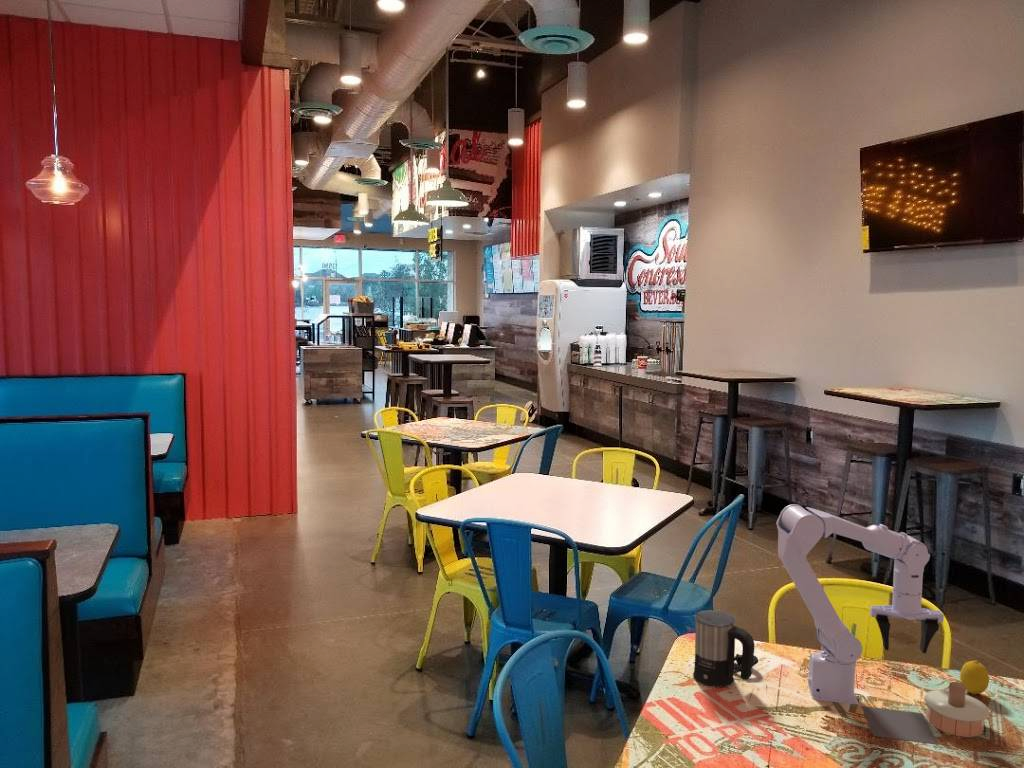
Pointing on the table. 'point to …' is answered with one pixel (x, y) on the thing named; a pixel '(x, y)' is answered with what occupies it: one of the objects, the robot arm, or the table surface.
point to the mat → (899, 725)
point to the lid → (956, 704)
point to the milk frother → (721, 649)
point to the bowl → (955, 725)
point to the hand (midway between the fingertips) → (904, 649)
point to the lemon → (974, 677)
